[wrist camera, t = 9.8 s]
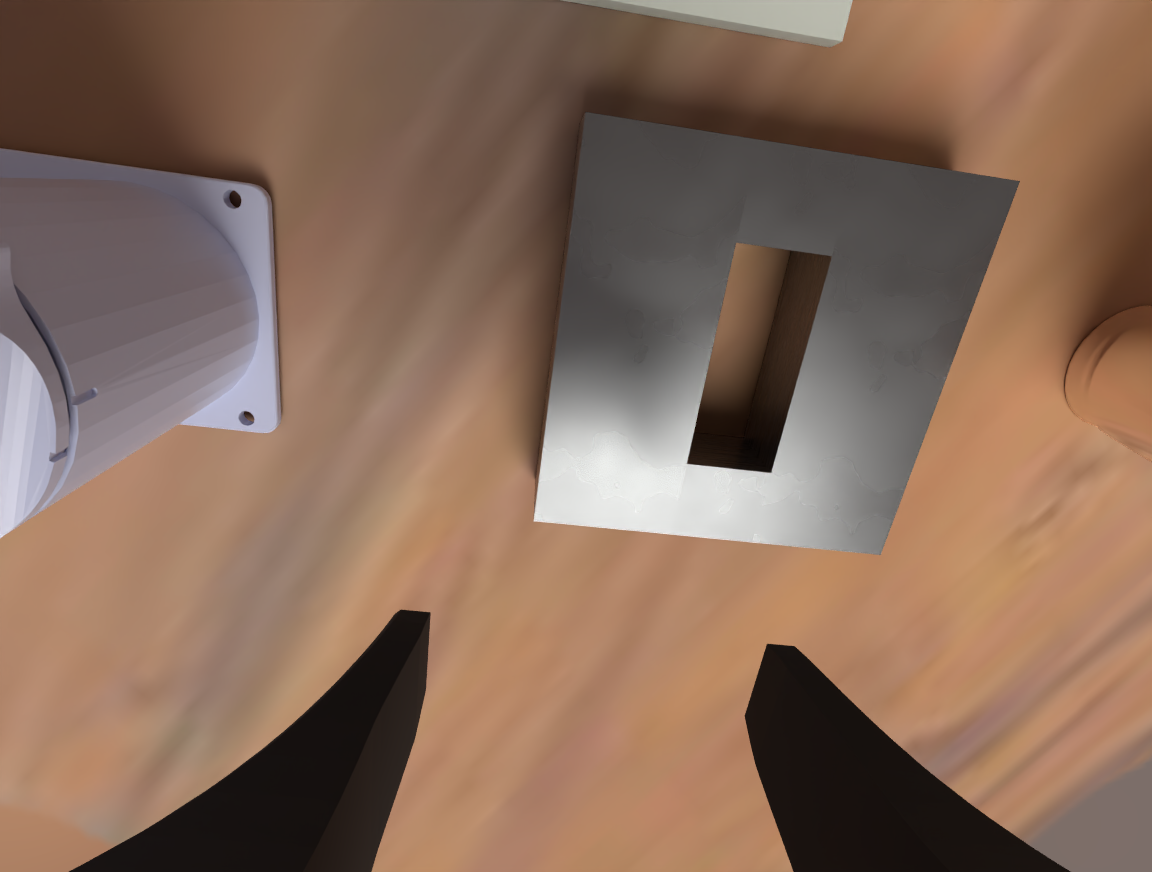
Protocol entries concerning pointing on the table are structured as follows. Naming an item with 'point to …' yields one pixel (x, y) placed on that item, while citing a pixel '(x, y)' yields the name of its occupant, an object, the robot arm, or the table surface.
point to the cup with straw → (1116, 379)
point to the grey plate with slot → (796, 344)
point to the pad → (750, 16)
